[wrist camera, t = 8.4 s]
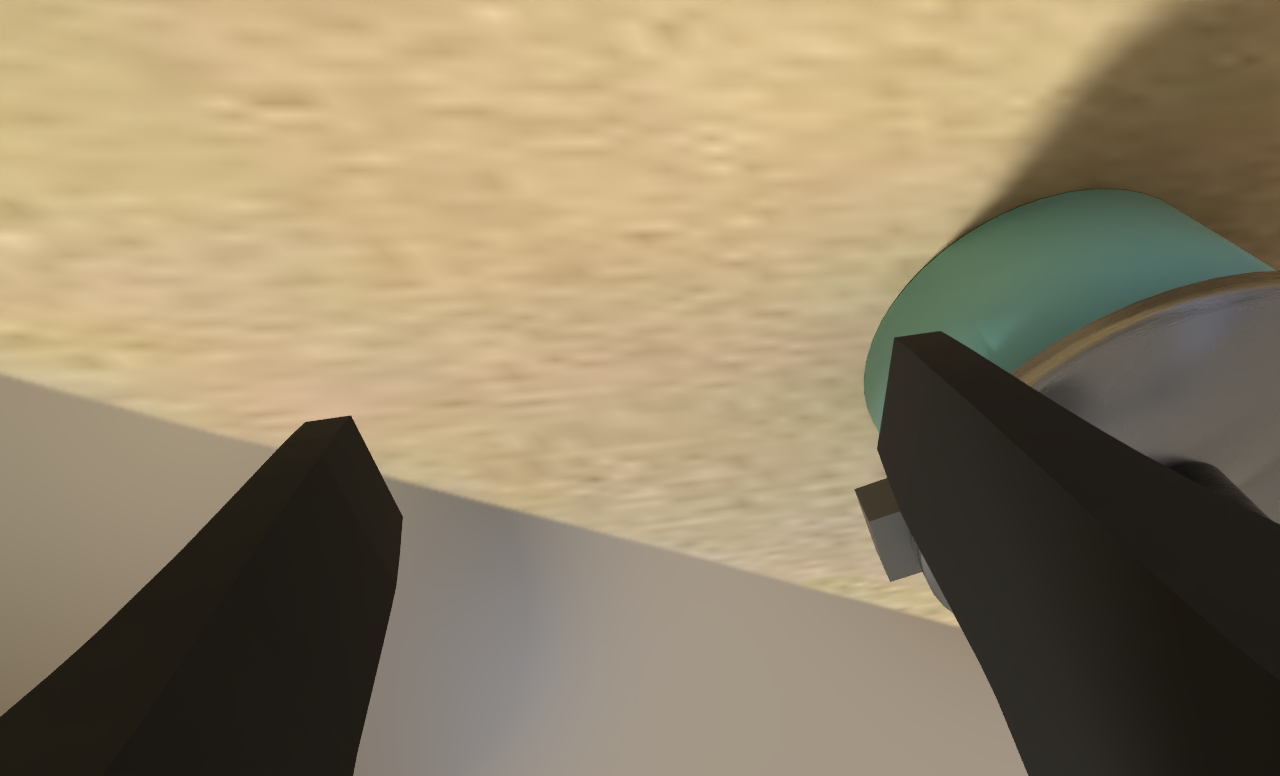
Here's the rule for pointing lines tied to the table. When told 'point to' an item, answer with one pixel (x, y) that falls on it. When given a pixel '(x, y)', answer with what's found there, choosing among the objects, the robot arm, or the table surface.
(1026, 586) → the robot arm
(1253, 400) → the lid
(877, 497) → the pot
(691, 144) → the table surface
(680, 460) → the table surface
